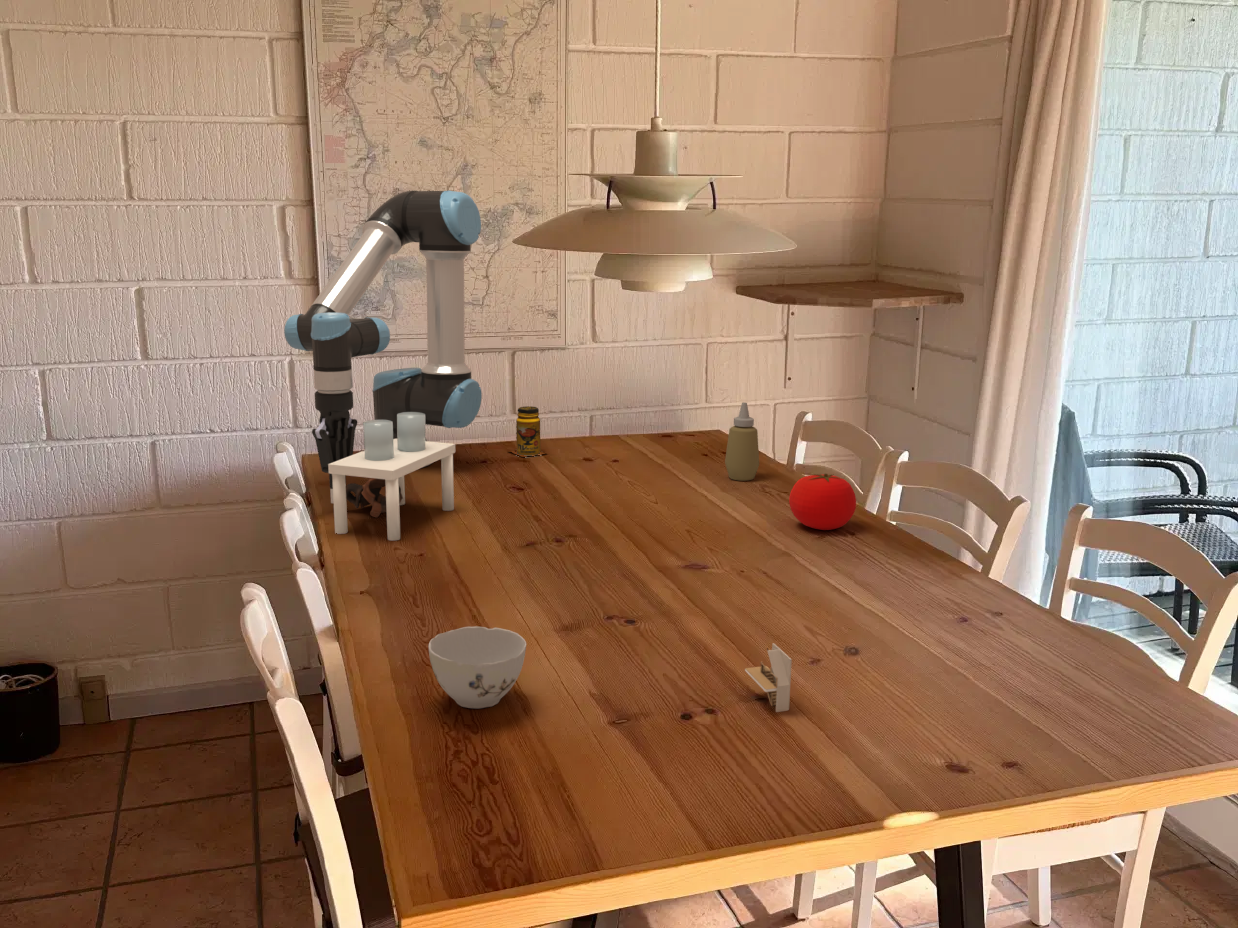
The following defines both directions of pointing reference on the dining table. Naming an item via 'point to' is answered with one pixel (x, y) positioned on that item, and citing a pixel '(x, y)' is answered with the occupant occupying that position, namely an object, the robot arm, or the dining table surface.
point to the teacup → (477, 664)
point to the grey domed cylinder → (411, 431)
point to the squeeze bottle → (742, 447)
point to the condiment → (528, 431)
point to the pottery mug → (369, 495)
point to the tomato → (822, 501)
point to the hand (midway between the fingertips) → (338, 502)
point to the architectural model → (774, 678)
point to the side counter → (391, 480)
